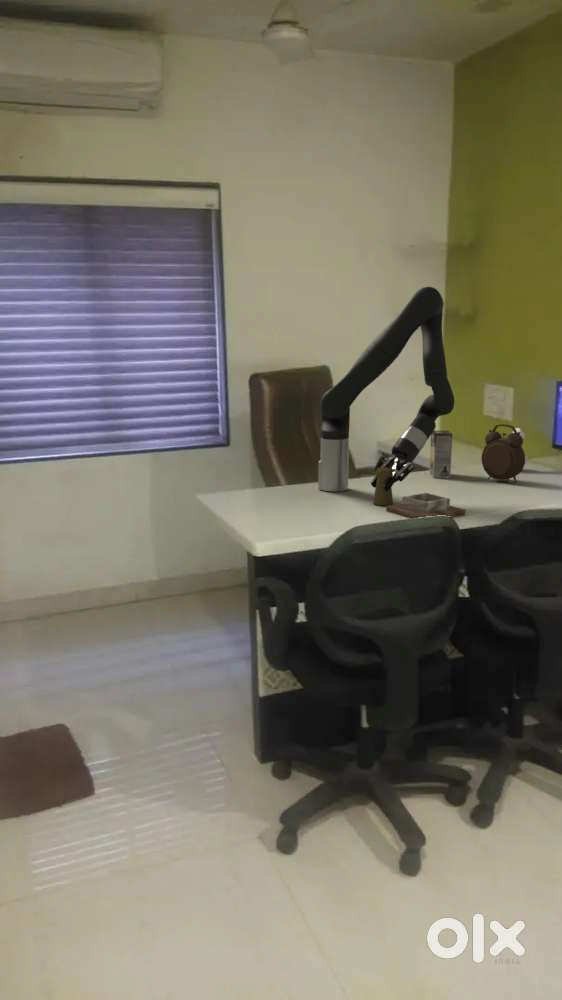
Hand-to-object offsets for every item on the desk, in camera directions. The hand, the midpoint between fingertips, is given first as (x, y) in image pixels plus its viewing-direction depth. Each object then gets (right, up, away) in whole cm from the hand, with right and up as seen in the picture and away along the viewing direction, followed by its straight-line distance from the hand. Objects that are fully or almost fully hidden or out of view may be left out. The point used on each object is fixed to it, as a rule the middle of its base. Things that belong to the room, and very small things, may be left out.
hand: (379, 487), depth 231 cm
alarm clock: (+48, +2, +36) cm, 60 cm away
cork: (+2, -5, +2) cm, 6 cm away
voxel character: (+58, +7, +56) cm, 81 cm away
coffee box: (+28, +5, +46) cm, 54 cm away
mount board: (+12, -8, -9) cm, 17 cm away
